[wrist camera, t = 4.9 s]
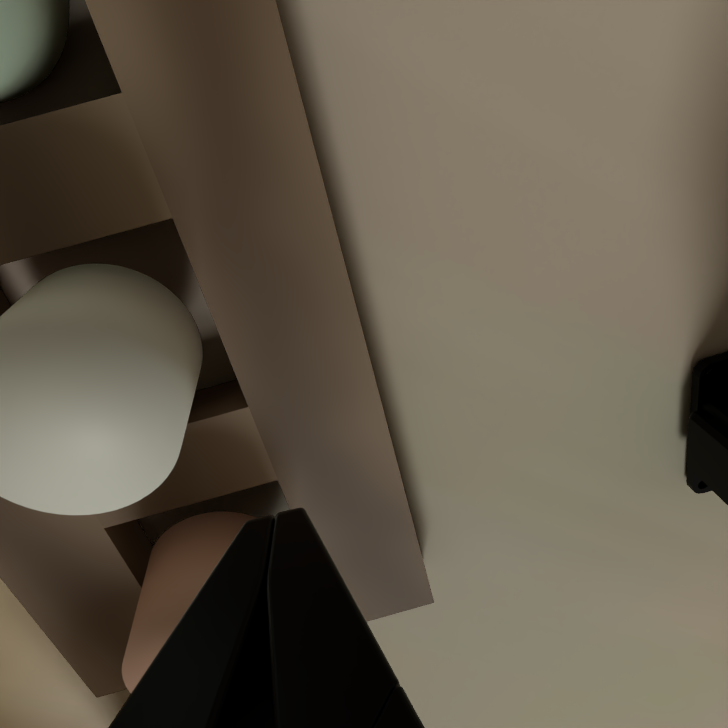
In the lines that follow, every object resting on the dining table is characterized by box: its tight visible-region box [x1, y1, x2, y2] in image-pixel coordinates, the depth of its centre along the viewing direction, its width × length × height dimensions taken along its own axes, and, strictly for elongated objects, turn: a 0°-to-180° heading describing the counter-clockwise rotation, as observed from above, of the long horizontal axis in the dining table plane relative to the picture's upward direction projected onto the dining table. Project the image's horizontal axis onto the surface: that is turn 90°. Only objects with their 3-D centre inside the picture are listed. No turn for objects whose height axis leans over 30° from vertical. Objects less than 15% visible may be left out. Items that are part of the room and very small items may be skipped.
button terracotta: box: [122, 511, 257, 693], centre depth 19 cm, size 5×5×4 cm
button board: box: [0, 0, 434, 697], centre depth 17 cm, size 14×28×2 cm, turn 13°
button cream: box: [0, 263, 203, 515], centre depth 14 cm, size 5×5×4 cm
